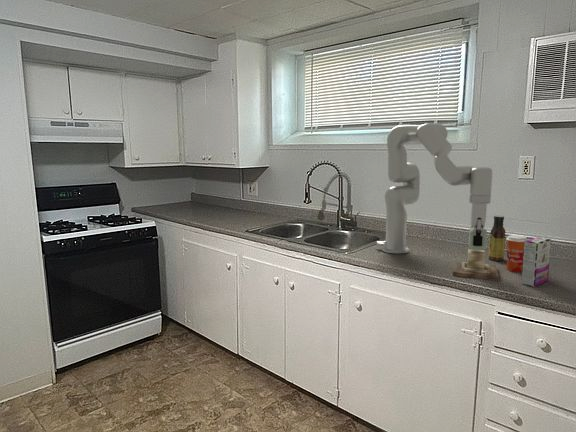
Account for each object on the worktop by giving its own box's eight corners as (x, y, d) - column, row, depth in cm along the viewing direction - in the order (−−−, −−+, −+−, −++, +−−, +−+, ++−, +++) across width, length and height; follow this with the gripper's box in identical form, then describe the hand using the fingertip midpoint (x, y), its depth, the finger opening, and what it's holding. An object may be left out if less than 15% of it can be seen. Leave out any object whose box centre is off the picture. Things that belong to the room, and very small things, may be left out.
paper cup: (501, 270, 171) (503, 236, 168) (507, 266, 176) (510, 233, 174) (522, 274, 165) (525, 239, 163) (528, 270, 170) (531, 236, 168)
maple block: (467, 269, 166) (468, 252, 165) (467, 265, 172) (468, 249, 171) (483, 271, 164) (484, 254, 163) (483, 267, 170) (484, 250, 168)
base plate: (453, 275, 164) (453, 269, 163) (454, 265, 178) (454, 259, 178) (498, 280, 158) (499, 273, 157) (495, 268, 172) (496, 263, 172)
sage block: (468, 248, 165) (470, 231, 164) (468, 245, 170) (469, 228, 169) (485, 249, 162) (486, 232, 161) (485, 246, 168) (486, 229, 167)
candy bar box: (534, 278, 160) (537, 236, 158) (548, 281, 156) (552, 238, 154) (519, 283, 154) (523, 240, 151) (534, 287, 150) (538, 242, 147)
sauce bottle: (490, 256, 191) (493, 214, 188) (505, 259, 187) (508, 215, 184) (486, 259, 186) (489, 216, 183) (501, 262, 182) (505, 217, 179)
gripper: (469, 196, 173) (466, 239, 175) (469, 201, 157) (467, 248, 160) (489, 197, 170) (486, 240, 173) (491, 202, 154) (488, 249, 157)
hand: (477, 243), depth 166 cm, fingers closed on sage block, 5 cm apart
